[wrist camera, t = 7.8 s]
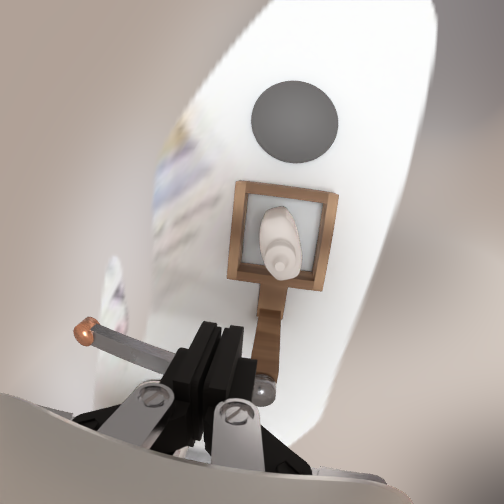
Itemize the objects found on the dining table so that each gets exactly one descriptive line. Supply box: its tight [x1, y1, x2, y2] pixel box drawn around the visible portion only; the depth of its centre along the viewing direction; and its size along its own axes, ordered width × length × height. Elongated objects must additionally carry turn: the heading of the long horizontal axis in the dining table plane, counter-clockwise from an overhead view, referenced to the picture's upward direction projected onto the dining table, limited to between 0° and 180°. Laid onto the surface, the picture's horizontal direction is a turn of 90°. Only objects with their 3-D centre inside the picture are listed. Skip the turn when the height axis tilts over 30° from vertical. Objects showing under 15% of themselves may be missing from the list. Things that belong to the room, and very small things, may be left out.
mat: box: [251, 81, 338, 163], centre depth 29 cm, size 9×9×1 cm
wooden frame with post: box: [227, 180, 339, 383], centre depth 27 cm, size 16×10×13 cm, turn 174°
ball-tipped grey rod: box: [74, 317, 276, 407], centre depth 22 cm, size 18×2×2 cm, turn 76°
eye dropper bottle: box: [259, 206, 302, 280], centre depth 27 cm, size 4×6×12 cm
